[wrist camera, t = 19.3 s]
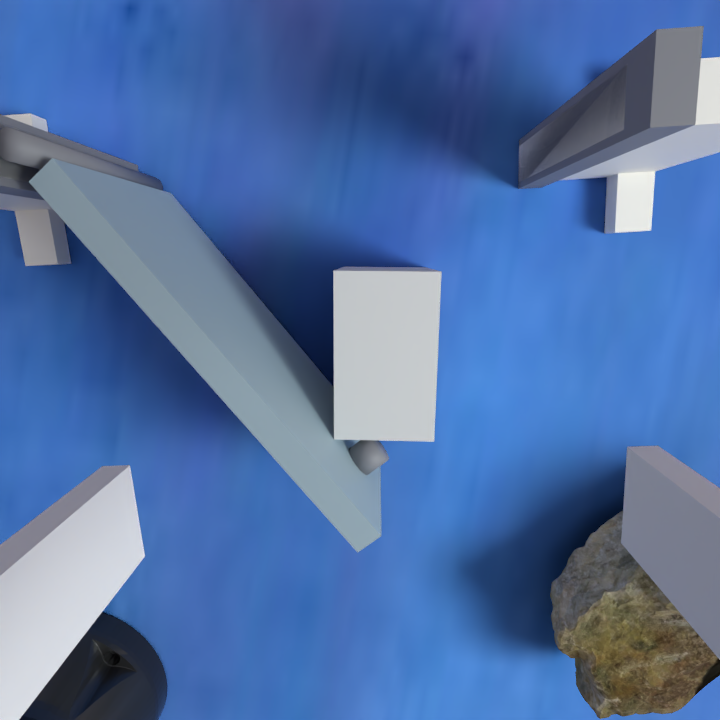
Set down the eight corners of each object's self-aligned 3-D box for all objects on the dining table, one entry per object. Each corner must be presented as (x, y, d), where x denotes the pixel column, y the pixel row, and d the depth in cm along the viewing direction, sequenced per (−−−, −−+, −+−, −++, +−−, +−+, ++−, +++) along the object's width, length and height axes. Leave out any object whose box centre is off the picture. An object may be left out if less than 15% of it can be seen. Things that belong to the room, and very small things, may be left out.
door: (138, 187, 35) (-15, 144, 21) (170, 156, 35) (34, 93, 21) (364, 452, 39) (357, 560, 25) (395, 429, 38) (406, 526, 25)
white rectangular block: (344, 396, 38) (333, 439, 29) (344, 266, 36) (333, 270, 27) (421, 398, 38) (434, 441, 29) (425, 267, 36) (441, 271, 27)
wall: (40, 265, 37) (-238, 274, 20) (13, 122, 35) (-322, 0, 18) (638, 231, 35) (878, 210, 18) (648, 77, 33) (929, -107, 16)
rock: (758, 497, 38) (660, 425, 38) (877, 595, 28) (746, 500, 28) (587, 642, 44) (499, 582, 43) (636, 767, 34) (523, 692, 33)
